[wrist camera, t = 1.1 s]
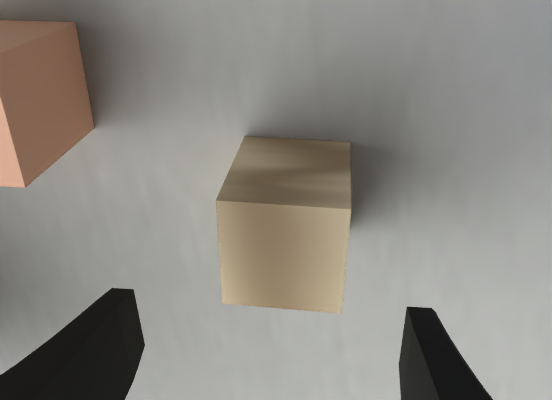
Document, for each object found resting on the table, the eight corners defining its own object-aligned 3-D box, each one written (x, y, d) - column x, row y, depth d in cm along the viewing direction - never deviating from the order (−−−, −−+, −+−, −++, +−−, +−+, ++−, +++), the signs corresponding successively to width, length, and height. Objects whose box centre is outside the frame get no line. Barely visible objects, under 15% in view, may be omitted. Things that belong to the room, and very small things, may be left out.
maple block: (349, 141, 19) (351, 209, 15) (342, 230, 21) (341, 313, 17) (244, 135, 19) (216, 200, 15) (247, 223, 21) (222, 303, 17)
